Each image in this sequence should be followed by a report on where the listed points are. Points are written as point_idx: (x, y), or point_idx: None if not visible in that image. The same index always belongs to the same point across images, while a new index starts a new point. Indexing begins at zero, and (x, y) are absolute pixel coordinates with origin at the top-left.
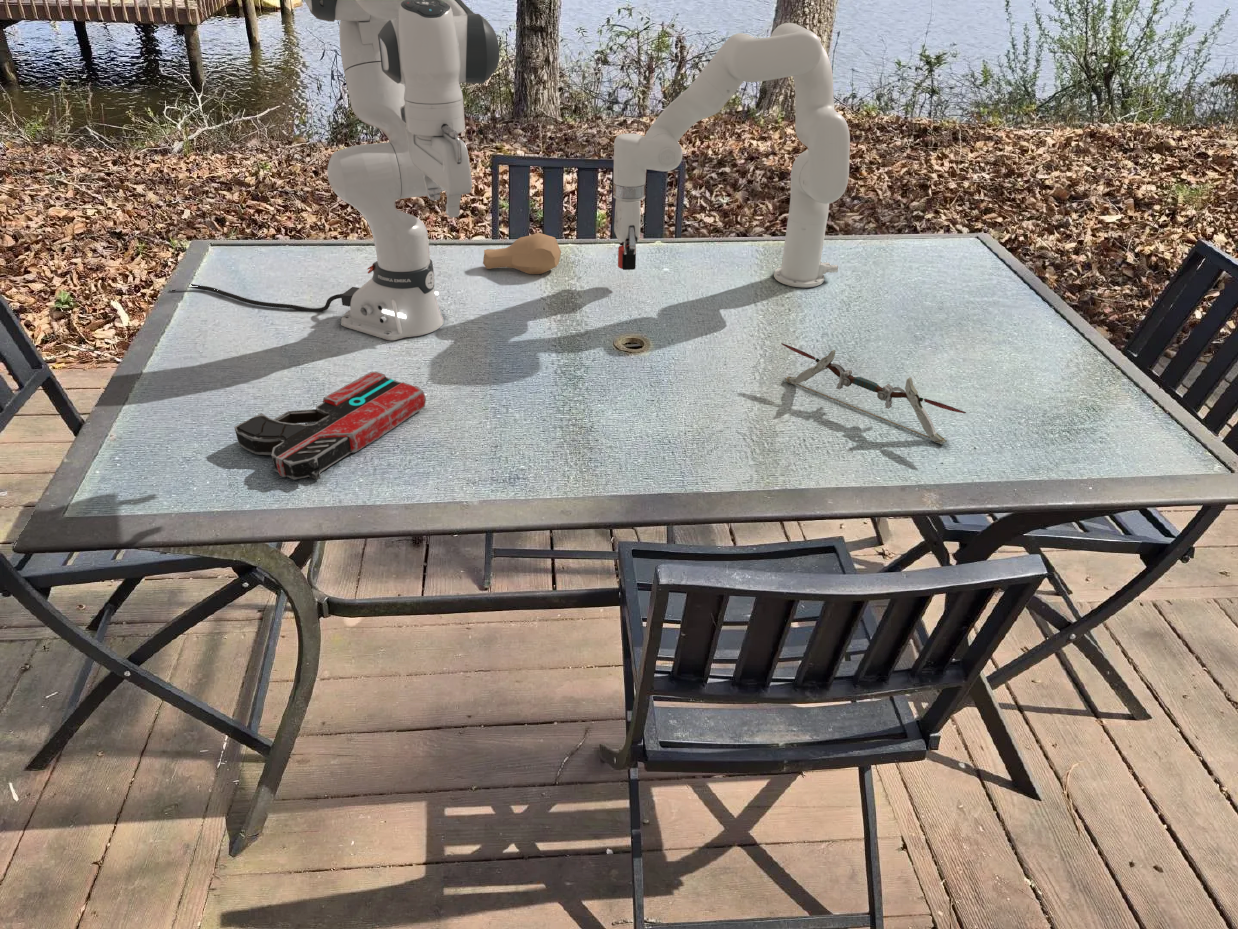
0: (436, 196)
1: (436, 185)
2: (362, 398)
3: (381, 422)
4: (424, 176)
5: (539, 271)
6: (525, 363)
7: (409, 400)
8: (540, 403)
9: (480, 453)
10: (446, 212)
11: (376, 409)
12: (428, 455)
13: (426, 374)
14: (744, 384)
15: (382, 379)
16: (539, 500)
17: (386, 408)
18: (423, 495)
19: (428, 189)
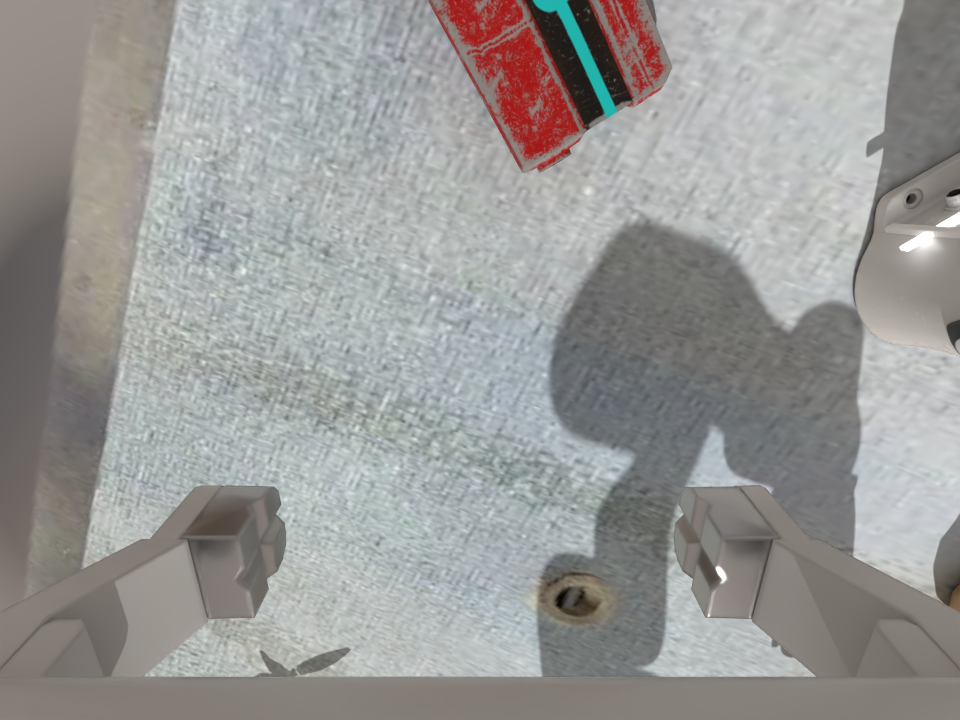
0: (687, 543)
1: (770, 627)
2: (559, 7)
3: (444, 28)
4: (898, 628)
5: (957, 592)
6: (607, 420)
7: (499, 123)
8: (446, 385)
9: (312, 215)
10: (253, 492)
11: (481, 24)
12: (341, 112)
13: (673, 223)
14: (370, 667)
15: (625, 88)
16: (128, 256)
17: (477, 52)
18: (197, 50)
19: (754, 539)
